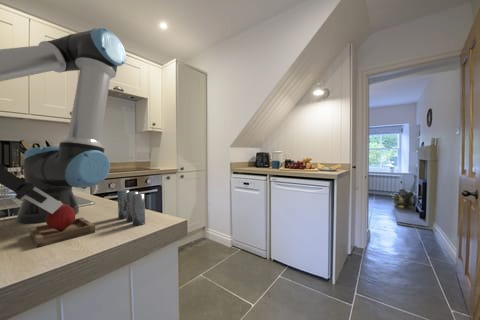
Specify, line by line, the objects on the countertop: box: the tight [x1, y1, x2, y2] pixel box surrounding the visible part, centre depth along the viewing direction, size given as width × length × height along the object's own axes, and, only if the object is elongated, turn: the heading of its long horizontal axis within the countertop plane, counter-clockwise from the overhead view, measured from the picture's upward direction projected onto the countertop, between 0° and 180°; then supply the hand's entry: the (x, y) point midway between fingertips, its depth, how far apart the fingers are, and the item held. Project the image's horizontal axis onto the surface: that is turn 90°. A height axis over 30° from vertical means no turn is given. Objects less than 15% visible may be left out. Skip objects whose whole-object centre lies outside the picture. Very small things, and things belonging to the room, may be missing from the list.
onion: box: [45, 201, 77, 231], centre depth 52 cm, size 6×6×8 cm
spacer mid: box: [126, 190, 139, 223], centre depth 64 cm, size 3×3×9 cm
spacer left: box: [117, 189, 131, 220], centre depth 67 cm, size 3×3×9 cm
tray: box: [29, 217, 96, 248], centre depth 53 cm, size 11×11×2 cm
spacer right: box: [132, 192, 146, 227], centre depth 61 cm, size 3×3×9 cm
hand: (50, 204), depth 51 cm, fingers open, 13 cm apart
